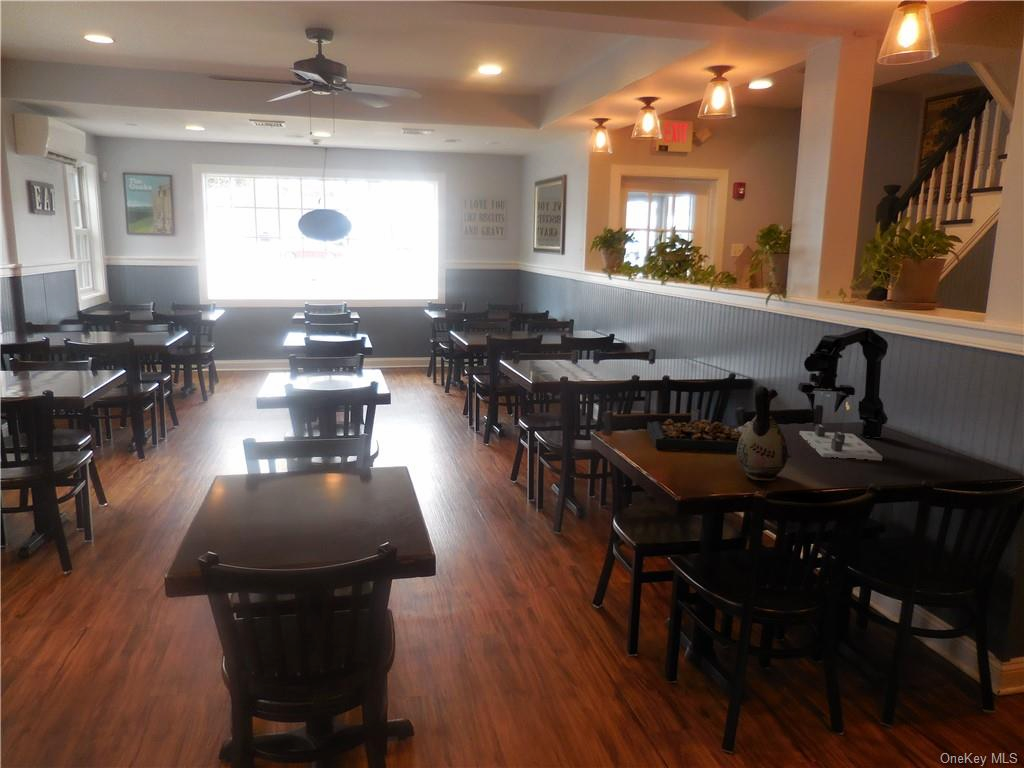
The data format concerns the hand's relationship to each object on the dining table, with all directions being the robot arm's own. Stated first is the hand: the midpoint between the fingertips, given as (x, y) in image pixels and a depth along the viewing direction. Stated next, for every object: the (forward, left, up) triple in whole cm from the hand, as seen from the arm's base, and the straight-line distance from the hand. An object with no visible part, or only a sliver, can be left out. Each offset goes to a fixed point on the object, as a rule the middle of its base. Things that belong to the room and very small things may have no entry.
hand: (823, 411), depth 265 cm
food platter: (+40, +5, -14) cm, 43 cm away
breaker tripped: (-7, 0, -11) cm, 13 cm away
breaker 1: (-3, -10, -11) cm, 15 cm away
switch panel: (-7, 0, -13) cm, 15 cm away
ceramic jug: (+31, +43, -13) cm, 55 cm away
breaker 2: (-3, +10, -11) cm, 16 cm away
